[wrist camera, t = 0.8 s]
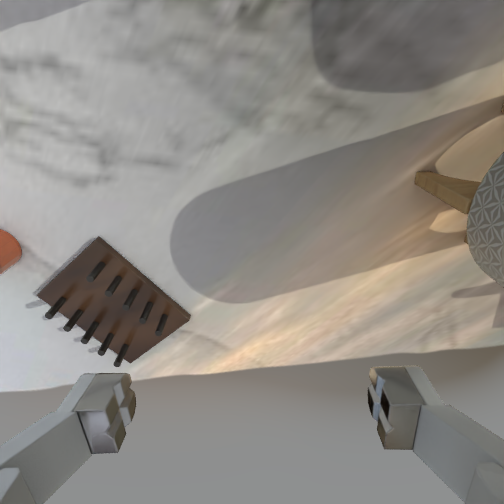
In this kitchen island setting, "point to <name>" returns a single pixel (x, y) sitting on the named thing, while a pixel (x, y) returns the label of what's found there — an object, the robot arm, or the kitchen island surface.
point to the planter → (476, 212)
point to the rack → (112, 303)
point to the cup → (8, 251)
